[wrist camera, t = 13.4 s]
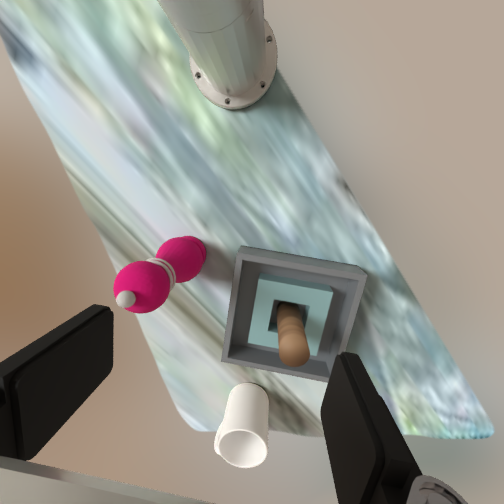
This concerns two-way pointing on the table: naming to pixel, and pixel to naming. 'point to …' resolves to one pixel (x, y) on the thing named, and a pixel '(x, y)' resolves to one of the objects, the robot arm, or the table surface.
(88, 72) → the table surface
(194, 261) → the pepper mill
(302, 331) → the peg
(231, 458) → the mug
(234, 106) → the robot arm
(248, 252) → the tray
